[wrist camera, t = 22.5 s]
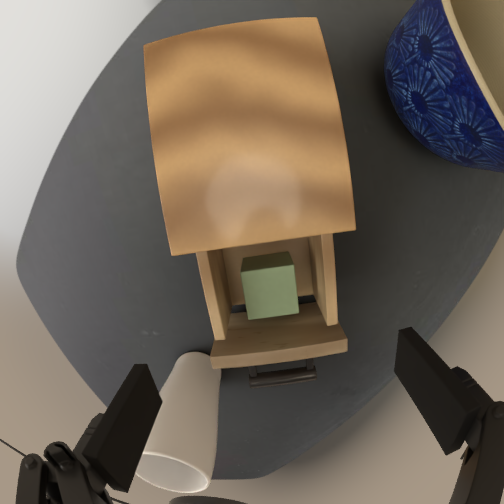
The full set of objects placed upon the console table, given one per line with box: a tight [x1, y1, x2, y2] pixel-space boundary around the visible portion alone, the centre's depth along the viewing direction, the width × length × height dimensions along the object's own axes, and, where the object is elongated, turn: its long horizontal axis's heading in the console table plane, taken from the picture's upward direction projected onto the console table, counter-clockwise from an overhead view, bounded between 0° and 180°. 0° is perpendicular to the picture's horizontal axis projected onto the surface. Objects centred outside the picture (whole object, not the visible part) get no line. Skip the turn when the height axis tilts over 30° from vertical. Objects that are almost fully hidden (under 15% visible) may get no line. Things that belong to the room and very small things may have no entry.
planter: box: [384, 0, 504, 173], centre depth 15 cm, size 17×17×15 cm
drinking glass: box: [135, 352, 221, 493], centre depth 23 cm, size 7×7×15 cm
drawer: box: [196, 233, 347, 388], centre depth 23 cm, size 18×10×7 cm, turn 9°
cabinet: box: [144, 17, 356, 256], centre depth 20 cm, size 15×12×9 cm
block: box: [240, 251, 299, 320], centre depth 23 cm, size 4×4×4 cm
